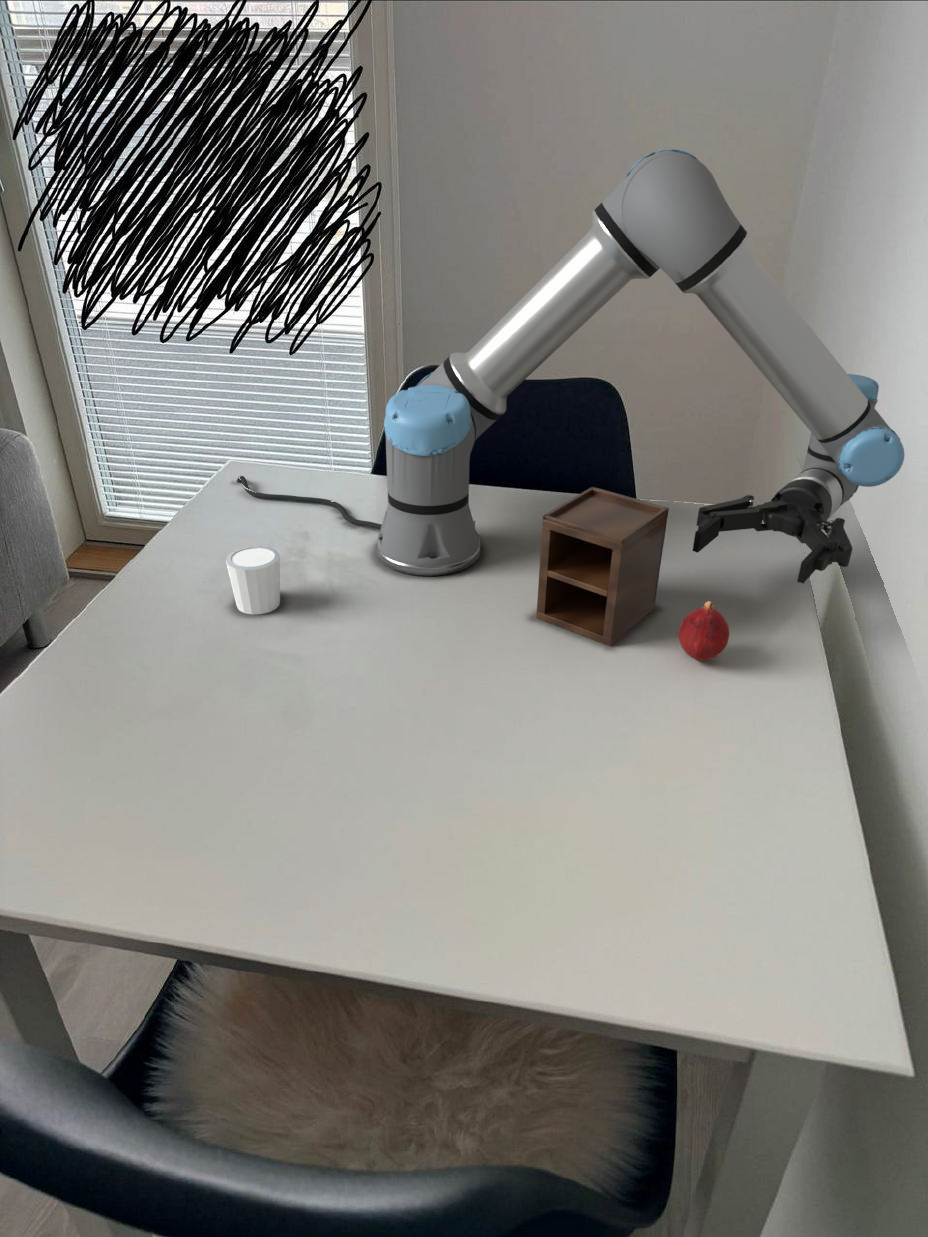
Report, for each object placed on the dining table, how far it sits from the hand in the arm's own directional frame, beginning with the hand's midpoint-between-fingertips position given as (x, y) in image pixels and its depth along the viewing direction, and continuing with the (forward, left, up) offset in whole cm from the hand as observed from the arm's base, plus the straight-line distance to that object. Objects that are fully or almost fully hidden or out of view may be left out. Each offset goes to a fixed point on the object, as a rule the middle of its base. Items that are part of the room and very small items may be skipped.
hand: (747, 557), depth 109 cm
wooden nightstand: (-16, -9, -10) cm, 20 cm away
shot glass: (-52, -35, -10) cm, 63 cm away
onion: (0, -11, -10) cm, 15 cm away
